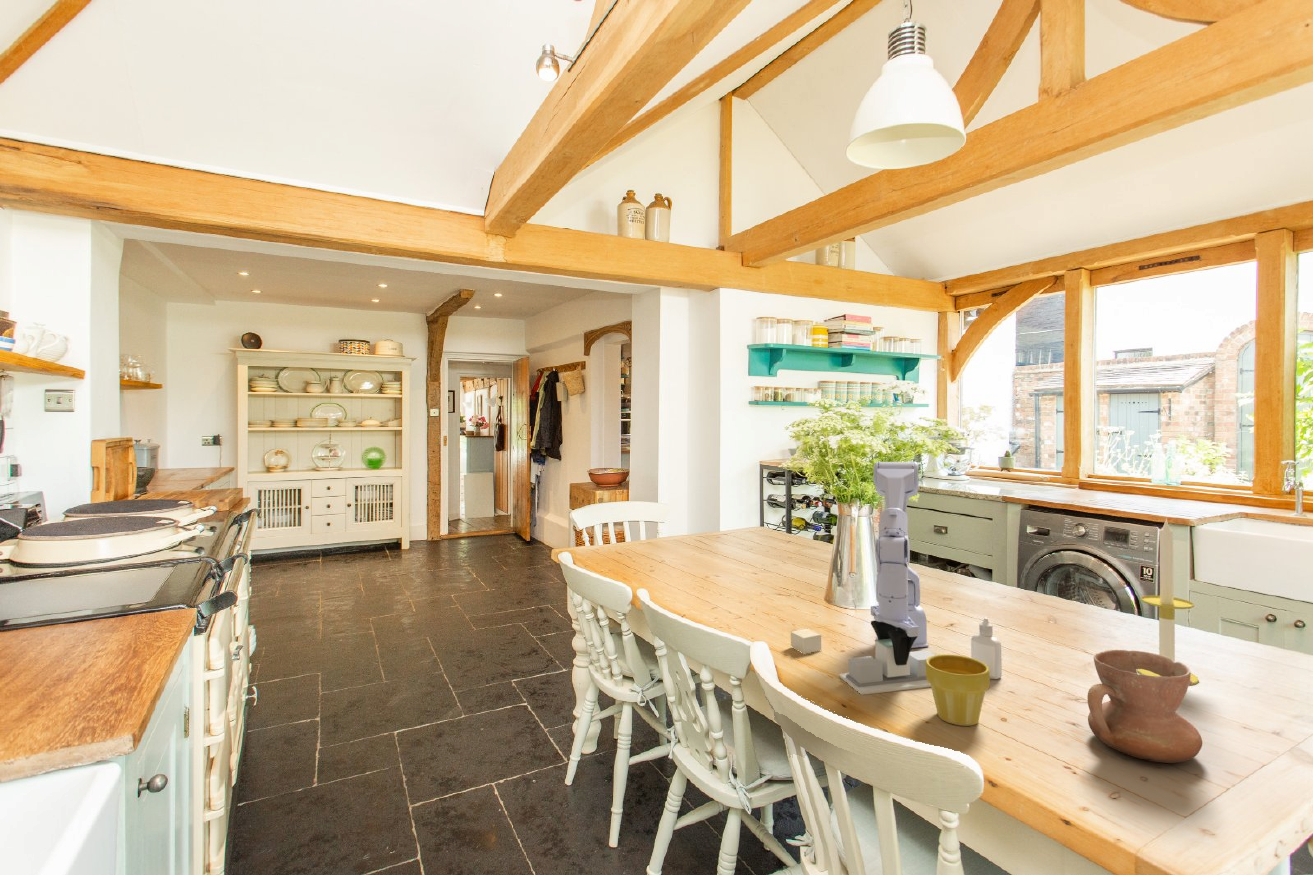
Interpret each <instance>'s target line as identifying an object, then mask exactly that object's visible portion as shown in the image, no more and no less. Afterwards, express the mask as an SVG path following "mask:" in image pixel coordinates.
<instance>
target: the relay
mask: <svg viewBox="0 0 1313 875" xmlns="http://www.w3.org/2000/svg"><path fill="white" fill-rule="evenodd" d="M791 646H792V647H793V648H795V649H796V650H799V651H801V652H802V653H803V654H802V653H801V654H802V655H804V654H805V655H807V654H806V653H810V654H812V653H811V652H814V651H819V652H821V651H822V634H820V633H818V632H816V631H814V630H812V629H810V628H804V629H798V630H793V631H790V647H791ZM796 650H795V651H796ZM820 650H821V651H820ZM814 653H815V652H814Z"/></svg>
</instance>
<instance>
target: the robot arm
mask: <svg viewBox="0 0 1313 875" xmlns="http://www.w3.org/2000/svg"><path fill="white" fill-rule="evenodd" d="M873 485H874V488H875V492H876V494H877V495H879V496H882V497H884V498H885V499H884V500H885V509H884V510H882V512H881V513H880V514H879V521H878V522H879V523H878V524H879V526H878V538H875V543H874V544H875V545H874V547H875V548H874V554H875V555H874V558H875V562H876V572H877V574H876V583H875V597H876V599H875V600H876V602H877V603H878V605H873V606H872V605H870V616H872V617H873V619H874V620H871V621H870V625H871V626H872V627H871V628H873V631H874V632H875V635H876V636H875V639H876V640H883V639H891V641H892V645H893V651H894V659H895V663H896V665H898V666H899V665H906V664H907V661H908V657H909V653H910V652H911V651H912V649H914V648H924V647H929V645H930V644H929V643H928V641H927V640H928V634H927V631H928V630H927V615H926V613H925V610H924V609H923V608H922V607H921V606H920V605H921V582H920V575H919V573H918V572H917V571H916V570H914V569H913V568H912V567H910V566H909V564H910V562H911V561H910V560H911V559H910V558H911V552H910V551H911V550H910V549H911V548H910V544H911V543H910V539H909V533H908V531H909V516H908V514H907V510H908V509H907V505H908V502H909V500H910V498H912V497H915V496H917V495H918V492H919V463H917V461H877V460H876V461H875V463H873Z"/></svg>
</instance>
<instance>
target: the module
mask: <svg viewBox="0 0 1313 875" xmlns="http://www.w3.org/2000/svg"><path fill="white" fill-rule="evenodd" d="M874 643H875V644H874V645H875V646H874V647H875V648H874V650H875V659H876V660H877V661H879V662H880V663H882V674H884V675H885V676H886V677H896V676H905V675H910V653H909V657H908V661H907V664H906V665H899V666H898V665H896V663H895V659H894V651H893V645H892V641H891V639H883V640H877V639H876V640H875V642H874Z"/></svg>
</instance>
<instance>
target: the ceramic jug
mask: <svg viewBox="0 0 1313 875" xmlns="http://www.w3.org/2000/svg"><path fill="white" fill-rule="evenodd" d="M1093 662H1094V663H1093V664H1094V667H1095V670H1096V673H1097V676H1098V678H1099V681H1100V683H1095V684H1093V685H1092V686H1090V688H1089V689H1088V692H1087V705H1088V708H1089V709H1088V710H1089V713H1088V716H1087V722H1088V723H1087V724H1088V726H1089V728H1090V730H1091V733H1092V734H1094V736H1095V737H1096V738H1098V740H1100V741H1101V742H1102V743H1103V744H1105V745H1106V746H1109V747H1110V748H1112V749H1114V750H1116V751H1118V752H1121V753H1123V754H1126V755H1128V756H1131V757H1134V758H1136V759H1141V760H1145V761H1149V762H1154V763H1155V762H1156V763H1163V764H1166V763H1167V764H1171V763H1172V764H1174V763H1176V764H1177V763H1183V762H1187V761H1190V760H1192V759H1194V758H1195V757H1196V756H1197V755H1198V754H1199V753H1200V751H1201V749H1202V747H1203V738H1202V736H1201V734H1200V732H1199V731H1198V729H1197V728H1196V727H1195V726H1194V725H1193V723H1191V722H1189V721H1188V720H1187V719H1186V718H1184V717H1182V715H1180V714H1179V713H1177V712H1176V711H1177V710H1178V708H1179V707H1180V706H1181V703H1182V702H1183V700H1184V698H1185V696H1186V694H1187V692H1188V689H1189V686H1192V685H1191V684H1192V681H1191V679H1190V676H1191V672H1192V671H1191V670H1190V667H1188V665H1186V664H1185V663H1183V662H1181V661H1175V662H1174V661H1173V660H1172V659H1171V658H1169V657H1166V656H1162V655H1159V653H1158V654H1157V653H1153V652H1149V651H1141V650H1127V649H1110V650H1105V651H1100V652H1098V653H1095V654H1094V655H1093ZM1137 669H1144V670H1148V671H1151V672H1153V673H1155V674H1158V675H1160V676H1159V677H1158V676H1149V675H1142V674H1140V673H1138V672H1137ZM1106 695H1107V696H1108V698H1109V700H1108V701H1106V702H1103V699H1104V697H1105V696H1106Z"/></svg>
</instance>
